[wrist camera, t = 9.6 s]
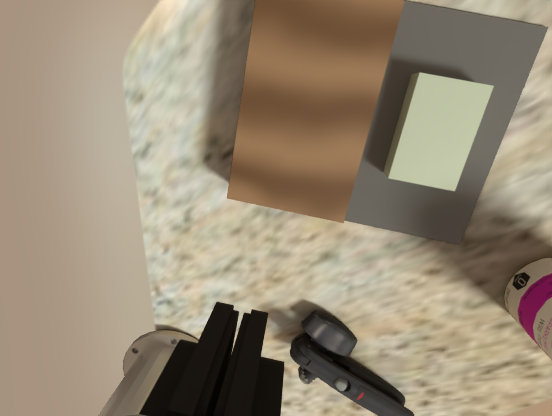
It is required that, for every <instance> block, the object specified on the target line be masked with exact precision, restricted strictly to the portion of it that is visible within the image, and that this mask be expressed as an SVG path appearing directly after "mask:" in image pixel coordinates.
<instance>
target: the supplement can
mask: <svg viewBox="0 0 552 416" xmlns="http://www.w3.org/2000/svg"><path fill="white" fill-rule="evenodd" d="M504 299H505V304H506V309H507V310H508V311H509V313H510V314H511V316H512V317H513V318H514V319H515V320H516V321H517V323H518V324H519V325H520V326H521V327H522V328H523V329H524V330H525V331H526V332H527V333H528V335H529V336H530V337H531V338H532V339H533V340H534V341H535V342H536V343H537V344H538V346H539V347H540V348H541V349H542V350H543V351H544V352H545V353H546V354H547V355H548V357H549V358H550V359H551V360H552V258H543V259H540V260H538V261H535V262H532V263H530V264H528V265H526V266H525V267H523V268H522V269H521V270H519V271H518V272H517V273H515V275H514V276H513V278H512V279H511V280H510V282H509V283H508V284H507V288H506V292H505V295H504Z"/></svg>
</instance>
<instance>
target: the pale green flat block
mask: <svg viewBox="0 0 552 416" xmlns="http://www.w3.org/2000/svg"><path fill="white" fill-rule="evenodd" d="M493 87H494V86H492V85H486V84H481V83H475V82H470V81H464V80H459V79H453V78H448V77H442V76H437V75H431V74H426V73H420V72H419V73H415V74H411V78H410V81H409V85H408V88H407V91H406V95H405V98H404V102H403V105H402V109H401V112H400V116H399V119H398V122H397V126H396V129H395V133H394V136H393V140H392V143H391V146H390V150H389V153H388V157H387V160H386V164H385V167H384V171H383V173H384V174H385V175H386V176H387V178H389V179H394V180H400V181H405V182H410V183H415V184H420V185H425V186H430V187H435V188H440V189H445V190H450V191H455V189H456V187H457V184H458V181H459V179H460V176H461V173H462V171H463V168H464V165H465V162H466V160H467V157H468V154H469V152H470V149H471V146H472V144H473V141H474V138H475V136H476V133H477V130H478V127H479V125H480V122H481V119H482V117H483V114H484V111H485V109H486V106H487V103H488V101H489V98H490V95H491V92H492V90H493Z"/></svg>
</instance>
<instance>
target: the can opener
mask: <svg viewBox="0 0 552 416" xmlns="http://www.w3.org/2000/svg"><path fill="white" fill-rule="evenodd" d="M301 325H302V327H303V328H304V330H305V331H306V332H307V333H303V334H300V335H298V336H296V337H295V338H294V340H293V341H292V344H291V349H290V355H291V357H292V359H293V360H294V361H295V362H296V363H297V364H299V365H300V367H299V369H298V371H299V378H300V379H301V381H302V382H303V383H304V384H310V382H312V380H315V378H320V379H321V380H322V381H324V382H325V383H327V384H328V385H329V386H331V387H332V388H334V389H335V390H337V391H338V392H340V393H341V394H343V395H344V396H346V397H348V398H349V399H351V400H352V401H354V402H356V403H357V404H359V405H361V406H362V407H364V408H366V409H367V410H369V411H371V412H373V413H375V414H377V415H378V416H414V414H413V412H412V411H410V410H409V409H407V408H406V407H404V404H405V397H404V396H403V395H402V394H401V393H400V392H399V391H398V390H396V389H395V388H394V387H392V386H391V385H390V384H388V383H387V382H385V381H384V380H382V379H380V378H379V377H377V376H376V375H374V374H372V373H371V372H369V371H367V370H365V369H363V368H362V367H360V366H358V365H357V364H355V363H353V362H351V361H350V360H348V359H347V358H345V357H344V356H349V355H350V354H351V352H352V350H353V348H354V347H355V345H356V343H357V338H356V337H355V335H354V334H353V333H352V332H351V331H350V330H349V329H348V328H347V327H346V326H345V325H344V324H342V323H341V322H340V321H338V320H336V319H335V318H333V317H331V316H329V315H327V314H324V313H322V312H318V311H314V312H312V313H311V314H310V315H309V316H308V317H307V318H305V319H304V320H303V321H302V322H301Z"/></svg>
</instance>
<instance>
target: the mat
mask: <svg viewBox="0 0 552 416" xmlns="http://www.w3.org/2000/svg"><path fill="white" fill-rule="evenodd" d="M547 29H548V27H545V26H539V25H534V24H529V23H523V22H518V21H512V20H507V19H501V18H496V17H491V16H485V15H480V14H474V13H469V12H464V11H458V10H453V9H447V8H442V7H436V6H431V5H426V4H420V3H415V2H409V1H404V5H403V9H402V12H401V16H400V20H399V23H398V27H397V31H396V34H395V38H394V41H393V45H392V49H391V52H390V56H389V60H388V63H387V67H386V71H385V74H384V78H383V81H382V85H381V89H380V92H379V96H378V100H377V103H376V107H375V111H374V114H373V118H372V121H371V125H370V129H369V132H368V136H367V140H366V143H365V147H364V151H363V154H362V158H361V162H360V165H359V169H358V172H357V176H356V180H355V183H354V187H353V191H352V194H351V198H350V202H349V205H348V209H347V212H346V216H345V221H349V222H354V223H359V224H363V225H368V226H373V227H378V228H382V229H387V230H392V231H396V232H401V233H406V234H411V235H415V236H420V237H425V238H429V239H434V240H439V241H444V242H448V243H453V244H458V245H459V244H460V242H461V239H462V237H463V234H464V232H465V229H466V227H467V224H468V222H469V220H470V217H471V215H472V212H473V210H474V207H475V205H476V202H477V200H478V198H479V195H480V193H481V190H482V188H483V185H484V183H485V181H486V178H487V176H488V173H489V171H490V168H491V166H492V163H493V161H494V159H495V156H496V154H497V151H498V149H499V146H500V144H501V141H502V139H503V137H504V134H505V132H506V129H507V127H508V124H509V122H510V120H511V117H512V115H513V112H514V110H515V107H516V105H517V102H518V100H519V98H520V95H521V93H522V90H523V88H524V85H525V83H526V80H527V78H528V76H529V73H530V71H531V68H532V66H533V63H534V61H535V59H536V56H537V54H538V51H539V49H540V46H541V44H542V41H543V39H544V37H545V34H546V32H547ZM419 72H420V73H426V74H431V75H437V76H442V77H448V78H453V79H459V80H464V81H470V82H475V83H481V84H486V85H492V86H494V87H493V90H492V92H491V95H490V98H489V101H488V103H487V106H486V109H485V111H484V114H483V117H482V119H481V122H480V125H479V127H478V130H477V133H476V136H475V138H474V141H473V144H472V146H471V149H470V152H469V154H468V157H467V160H466V162H465V165H464V168H463V171H462V173H461V176H460V179H459V181H458V184H457V187H456V189H455V191H450V190H445V189H440V188H435V187H430V186H425V185H420V184H415V183H410V182H405V181H400V180H394V179H389V178H387V176H386V175H385V174H384V173H383V171H384V167H385V164H386V160H387V157H388V153H389V150H390V146H391V143H392V140H393V136H394V133H395V129H396V126H397V122H398V119H399V116H400V112H401V109H402V105H403V102H404V98H405V95H406V91H407V88H408V85H409V81H410V78H411V74H415V73H419Z"/></svg>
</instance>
